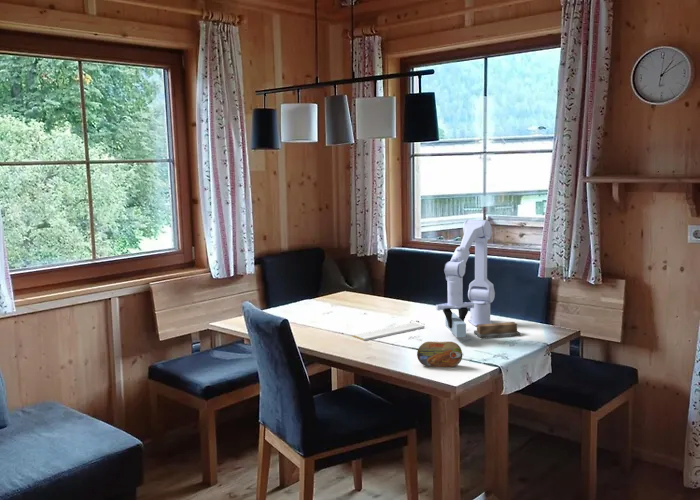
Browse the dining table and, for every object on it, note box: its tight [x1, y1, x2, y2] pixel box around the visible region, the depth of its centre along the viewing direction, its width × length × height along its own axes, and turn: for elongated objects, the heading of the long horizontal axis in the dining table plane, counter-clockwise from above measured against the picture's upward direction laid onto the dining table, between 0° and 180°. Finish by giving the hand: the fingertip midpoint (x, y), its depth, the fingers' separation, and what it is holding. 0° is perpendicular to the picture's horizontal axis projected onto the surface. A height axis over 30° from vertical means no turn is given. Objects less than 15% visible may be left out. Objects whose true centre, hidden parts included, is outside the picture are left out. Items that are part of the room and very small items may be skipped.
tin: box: [416, 341, 463, 368], centre depth 227 cm, size 15×3×8 cm, turn 80°
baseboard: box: [351, 320, 425, 342], centre depth 273 cm, size 30×3×10 cm
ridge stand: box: [473, 321, 522, 339], centre depth 263 cm, size 16×8×4 cm, turn 98°
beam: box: [445, 312, 467, 338], centre depth 260 cm, size 18×4×5 cm, turn 5°
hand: (455, 327), depth 260 cm, fingers closed on beam, 4 cm apart
